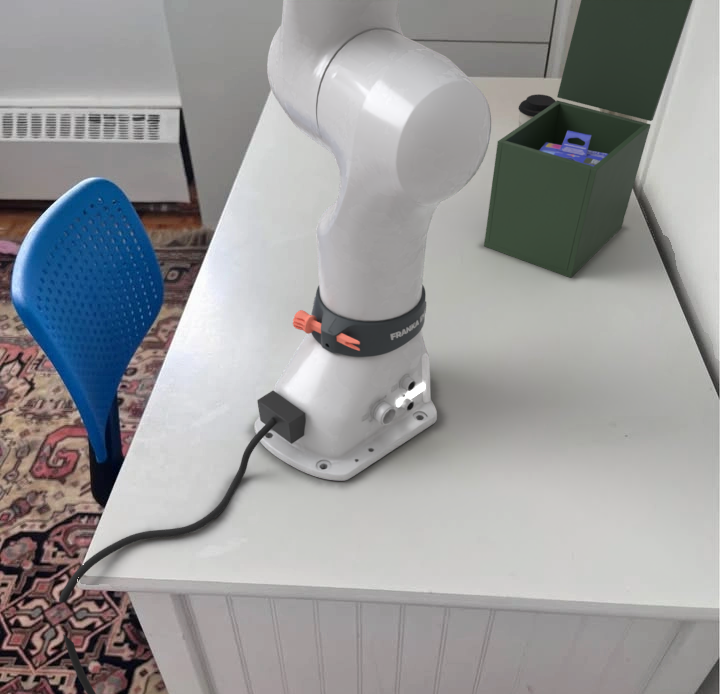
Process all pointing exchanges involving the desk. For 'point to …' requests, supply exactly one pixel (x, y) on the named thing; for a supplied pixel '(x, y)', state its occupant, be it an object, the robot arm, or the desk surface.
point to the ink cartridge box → (575, 149)
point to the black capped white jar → (533, 106)
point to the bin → (562, 187)
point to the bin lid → (623, 54)
